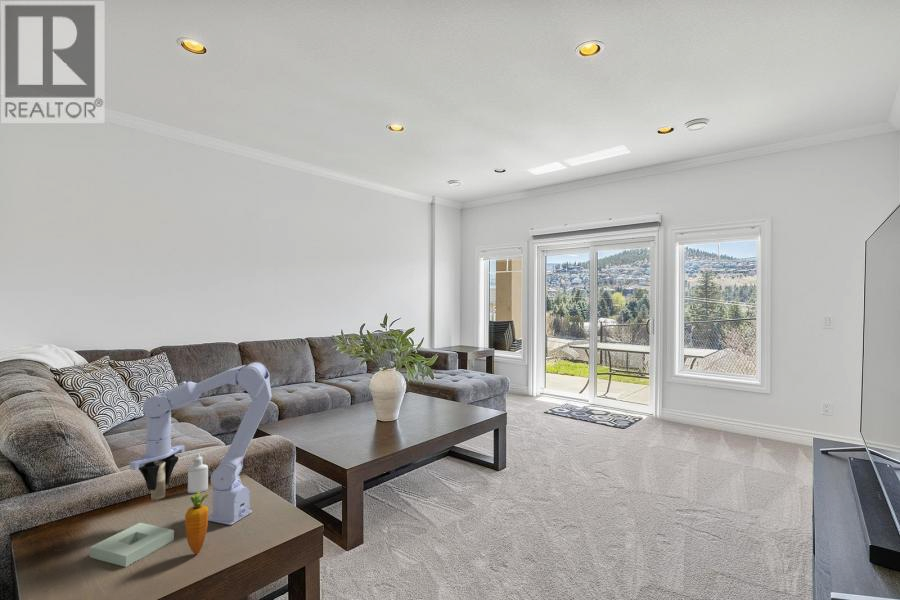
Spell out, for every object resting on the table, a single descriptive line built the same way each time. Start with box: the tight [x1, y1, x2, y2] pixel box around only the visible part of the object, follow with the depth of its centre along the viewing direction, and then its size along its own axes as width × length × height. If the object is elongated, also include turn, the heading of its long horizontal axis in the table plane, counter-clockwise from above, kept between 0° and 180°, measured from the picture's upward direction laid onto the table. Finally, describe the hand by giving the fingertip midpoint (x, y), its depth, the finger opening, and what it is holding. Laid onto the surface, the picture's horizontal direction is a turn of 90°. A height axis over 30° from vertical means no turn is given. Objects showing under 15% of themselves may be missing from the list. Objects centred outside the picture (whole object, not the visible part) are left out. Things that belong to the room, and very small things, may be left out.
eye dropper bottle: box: [187, 453, 209, 494], centre depth 139 cm, size 4×6×12 cm
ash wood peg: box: [150, 461, 166, 501], centre depth 119 cm, size 3×3×10 cm
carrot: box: [184, 491, 209, 555], centre depth 104 cm, size 5×5×15 cm
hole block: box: [89, 522, 175, 568], centre depth 106 cm, size 12×12×2 cm
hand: (158, 486), depth 119 cm, fingers closed on ash wood peg, 3 cm apart
